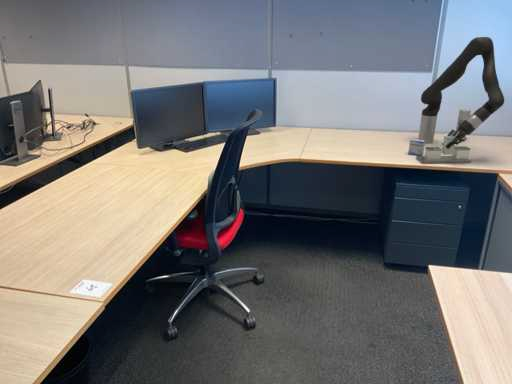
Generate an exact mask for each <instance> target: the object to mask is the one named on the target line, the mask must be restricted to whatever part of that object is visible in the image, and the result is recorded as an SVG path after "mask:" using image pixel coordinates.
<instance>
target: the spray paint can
mask: <svg viewBox="0 0 512 384" xmlns="http://www.w3.org/2000/svg"><path fill="white" fill-rule="evenodd" d="M458 111H459V112H458V117H457V124H456V129H455V131H456V130H457V129H459V125H460V124H461V123H462V122H463V121H464V120H465V119H466V118H468V117H469V116H470V115H471V114H472V113H471V112H472V110H471V109H470V108H469V109H468V108H459V110H458ZM465 137H466V138H467V135H466V136H465ZM462 142H466V140H464V141H462ZM462 142H461V143H462Z"/></svg>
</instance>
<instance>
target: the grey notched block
mask: <svg viewBox="0 0 512 384" xmlns="http://www.w3.org/2000/svg"><path fill="white" fill-rule="evenodd" d="M470 153H471V148H470V147H468V146H454V152H453V155H442V148H441V147H439V146H426V147H424V154H423V155H424V156H423V155H422V156H416V155H415V157H416V158H415V159H416V160H417V161H418V162H419V163H420V164H422V165H436V164H437V165H439V164H440V165H443V164H447V165H448V164H472V159H470Z"/></svg>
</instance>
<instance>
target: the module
mask: <svg viewBox="0 0 512 384" xmlns="http://www.w3.org/2000/svg"><path fill="white" fill-rule="evenodd" d="M453 139H454V136H447V135H446V136H444V137H443V142H442V143H443V145H442V148H441V149H442V151H441V154H443V155H444V156H453V152H454V147H456V146H455V145H456V144H455V145H453V146H451V147H450V148H449V149H447V148H446V145H447V144H448V143H450V142H451V141H452V140H453Z"/></svg>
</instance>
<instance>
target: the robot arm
mask: <svg viewBox="0 0 512 384" xmlns="http://www.w3.org/2000/svg"><path fill="white" fill-rule="evenodd" d="M477 56H481V58H482V60H483V69H482V72H481V73H482V74H481V75H482V76H481V78H482V79H481V80H482V85H483V88H484V91H485V93H486V94H487V97H488V100H487V101H486V102H485V103H484V104H482V106H481V107H478V109H476V110H475V111H474V112H473V113H471V114H470V116H469V117H468V118H466V119H465V120H464V121H463V122H462V123H461V124H460V125H459V129H457V130H456V129H455V130H454V129H451V130H450V131H449V133H448V134H447V135H446V136H453V137H454V139H453V140H452V141H451V142H450V143H448V144H447V145H446V148H447V149H449V148H450V147H451V146H453V145H457V146H458V145H459V144H461V143H462V141H464V140H465V141H466V140H467V136H469V135H471V134H472V133H473V132H474V131H476V130H477V129H478V128H479V127H480V126H481V125H482V124H483V123H484V122H485V121H486V120H487V119H489V117H490V116H491V115H493V114H494V113H495V112H497V111H498V110H500V108H502V107H503V106H504V104H505V96H504V94H503V91H502V88H501V86H500V82H499V78H498V76H497V75H498V74H497V70H496V62H495V61H496V60H495V58H496V57H495V47H494V42H493V39H492V38H491V37H489V36H477V37H474V38H473V39H471V40H470V41H469V43H468V44H467V45H466V46H465V48H463V50H462V52H461V53H460V54H459V55H458V56H457V57H456V58H455V60H454V61H452V63H451V64H449V65H448V67H447V68H446V69H445V70H444V71H443V72H442V73H441V74H440V75H439V76H438V78H437V79H436V80H434V81H433V83H431V85H429V86H428V87H427V88H426V89H425V90H423V92H422V93H421V97H420V101H421V103H422V104H424V105H427V106H426V107H425V108H423V109H422V111H421V118H420V122H419V123H420V124H419V129H418V132H419V133H418V137H417V138H418V139H417V140H425V144H432V143H434V140H435V139H434V138H435V132H436V126H437V121H438V114H439V112H440V110H441V104H442V99H443V92H442V91H444V90H445V89H447V88H449V87H450V86H453V85H454V84H455V83H457V82H458V81H459V80H460V79H461V78H462V77H463V76H464V74H465V73H466V70H467V67H468V65H469V64H470V62H471V61H473V59H475V58H476V57H477ZM465 136H466V137H465ZM465 141H464V142H465ZM441 145H442V146H443V142H442V143H441Z"/></svg>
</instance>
